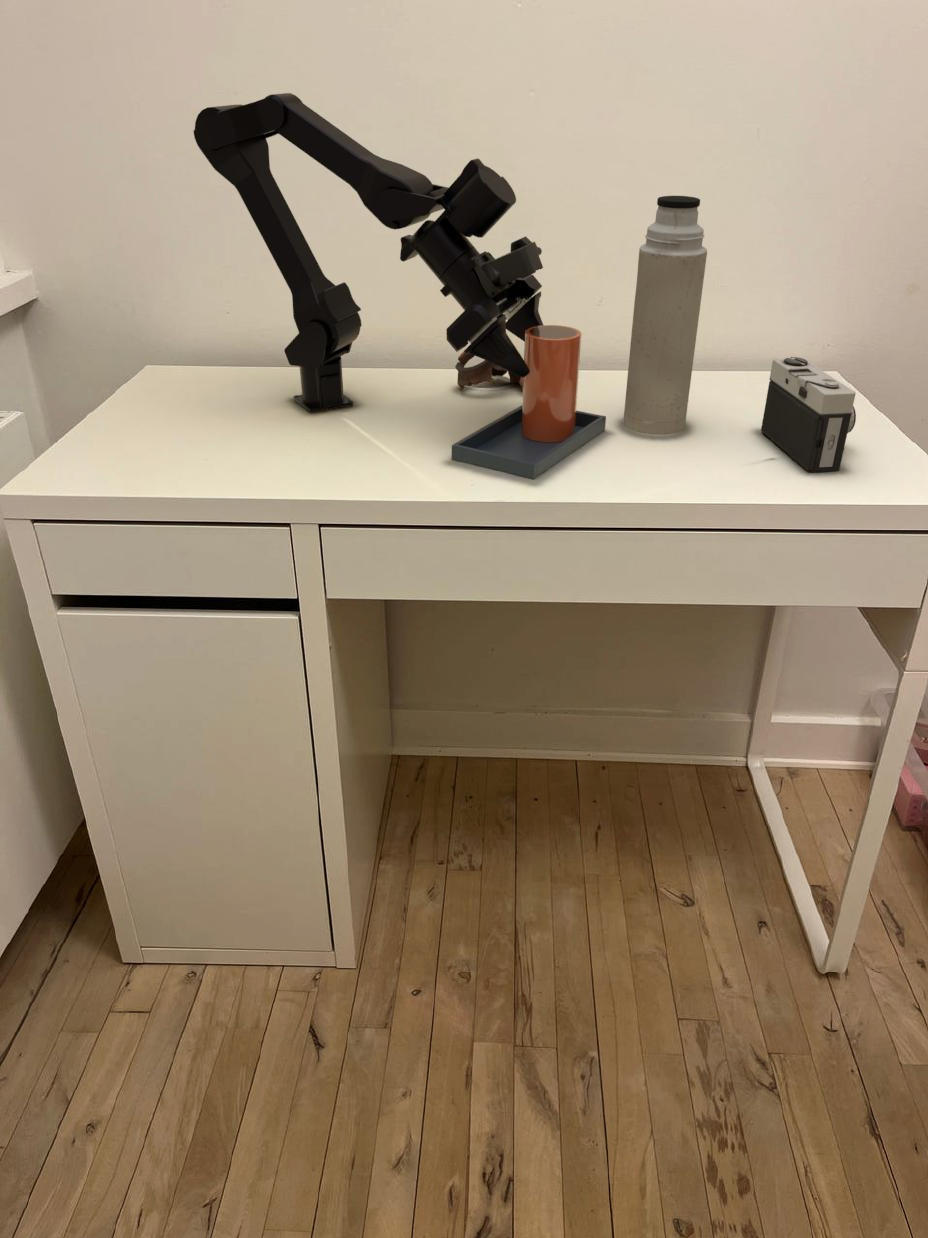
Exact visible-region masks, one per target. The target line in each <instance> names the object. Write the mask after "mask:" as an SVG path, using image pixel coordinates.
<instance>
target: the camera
mask: <svg viewBox="0 0 928 1238" xmlns="http://www.w3.org/2000/svg"><path fill="white" fill-rule="evenodd" d="M768 380H769V383H768V387H767V393H766V399H765V405H764V410H763V417H762V422H761V427H760V431H761V433H762V434H764V435H765V436H766V437H767V439H769V440H771V441H772V442H773V443H774V444H775V445H776V446H778V447H779V448H780V449H781V450H782V451H784V452H785V454H787V455H788V456H790V457H791V458H792V459H793V460H794V461H796V462H797V463H798V464H799V465H800V466H802V467H803V468H804V469H805V470H806V471H807V472H809V473H823V472H839V471H840V469H841V464H842V459H843V455H844V451H845V446H846V441H847V436H848V434H849V433H851V432H852V431H853V429H854V428H855V425H856V421H857V414H856V408H855V406H854V402H855V400H856V399H855V398H856V394H857V393H856V391H855V390H853V389H852V388H851V387H848V386H847V385H845V384H844V383H843V382H840V381H839V380H838V379H836V378H834V377H832V376H831V375H830V374H828V373H827V372H825V371H824V370H822V369H820V368H819V367H817V366H815V365H814V364H812V363H811V362H809V361H808V360H807V359H805V358H802V357H797V356H796V357H795V356H791V357H786V358H774V359H772V363H771V369H770V375H769V379H768Z"/></svg>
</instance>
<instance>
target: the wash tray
mask: <svg viewBox="0 0 928 1238" xmlns="http://www.w3.org/2000/svg"><path fill="white" fill-rule="evenodd" d="M606 423H607V416H606V415H601V414H596V413H590V412H585V411H581V410H576V424H575V434H574V435H572V436H571V437H569V438H568V439H566V440H565V441H563V442H555V443H546V442H538V441H533V440H530V439H527V438H526V437H524V436H523V435H522V433H521V432H522V405H520V406H518V407H516V408H515V409H512V410H511V411H509V412H508V413H506V414H504V415H502V416H500V417H499V418H497V419H495V420H493V421H491V422H490V423H488V424H487V425H485V426H483V427H481V428H479V429H477V430H475V431H474V432H472V433H470V434H469V435H467V436H465V437H463V438H461V439H460V440H458V441H456V442H455V443H453V444H452V445H451V461H453V462H454V461H456V462H458V463H463V464H467V465H471V466H475V467H480V468H482V469H483V468H484V469H488V470H492V471H496V472H500V473H504V474H507V475H512V476H515V477H516V476H517V477H521V478H525V479H528V480H535V479H537V478H538V477H540V476H541V475H543V474H544V473H545V472H547V471H549V470H550V469H551V468H554V466H556V465H557V464H559V463H560V462H561V461H563V460H565V459H566V458H567V457H568V456H570V455H572V454H573V453H574V452H576V451H577V450H579V449H580V448H581V447H583V446H585V445H586V444H588V443H589V442H590V441H592V440H593V439H594V438H596V437H597V436H599V435H600V434H602V433H603V432H604V431H606Z"/></svg>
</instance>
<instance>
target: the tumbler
mask: <svg viewBox="0 0 928 1238" xmlns="http://www.w3.org/2000/svg"><path fill="white" fill-rule="evenodd" d="M581 346H582V332H581V331H580V330H579V329H577V328H575V327H572V326H567V325H558V324H543V326H535V327H531V328H529V329H527V330H526V331H525V342H524V351H523V353H524V355H523V360H524V361H525V363H526V365H527V366H528V368H529V370H530V373H529V374H528V375H527V376H525V377H523V391H522V403H521V406H522V432H521V433H522V435H523V436H524V437H526V438H527V439H530V440H533V441H538V442H546V443H555V442H563V441H565V440H566V439H568V438H569V437H571V436H572V435H574V434H575V424H576V411H577V406H578V391H579V378H580V377H579V376H580V361H581Z"/></svg>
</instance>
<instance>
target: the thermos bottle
mask: <svg viewBox="0 0 928 1238" xmlns="http://www.w3.org/2000/svg"><path fill="white" fill-rule="evenodd" d="M656 205H657V207H658V208H657V210H656V211H655V212H656V213H655V221H654V222H653V223H651V224H649V225H648V226H647V230H646V234H645V235H644V236H645V243H644V244H642V245H640V246H639V249H638V250H639V251H638V260H637V273H636V274H637V275H636V286H635V294H634V303H633V304H634V305H633V313H632V325H631V337H630V347H629V357H628V367H627V377H626V378H627V379H626V388H625V389H626V390H625V400H624V412H623V421H622V422H623V423H622V424H623V426H625V428H627V429H629V430H631V431H632V432H636V433H639V434H644V435H654V436H656V435H657V436H664V435H665V436H667V435H673V434H678V433H679V432H682V431H683V430H684V429H685V428H686V422H687V414H688V405H689V396H690V391H691V390H690V389H691V383H692V375H693V365H694V358H695V351H696V343H697V335H698V334H697V333H698V327H699V321H700V311H701V305H702V295H703V289H704V279H705V272H706V264H707V256H708V249H707V248H706V247H705V246H703V241H704V240H703V239H704V238H705V233H704V228H703V227H702V226H701V225H700V224H699V223H698V219H699V211H698V208H699V207H700V205H701V199H700V198H698V197H695V196H687V195H663V196H660V197H657V201H656Z"/></svg>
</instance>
